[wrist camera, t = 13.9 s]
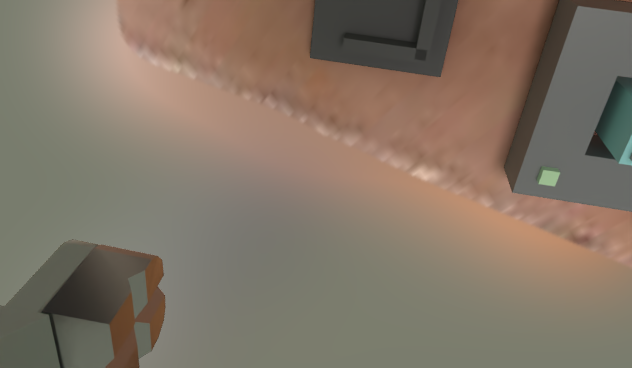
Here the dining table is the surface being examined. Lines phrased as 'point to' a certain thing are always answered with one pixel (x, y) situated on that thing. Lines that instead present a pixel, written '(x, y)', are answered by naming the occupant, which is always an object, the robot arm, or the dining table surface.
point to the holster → (384, 33)
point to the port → (575, 109)
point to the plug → (618, 121)
